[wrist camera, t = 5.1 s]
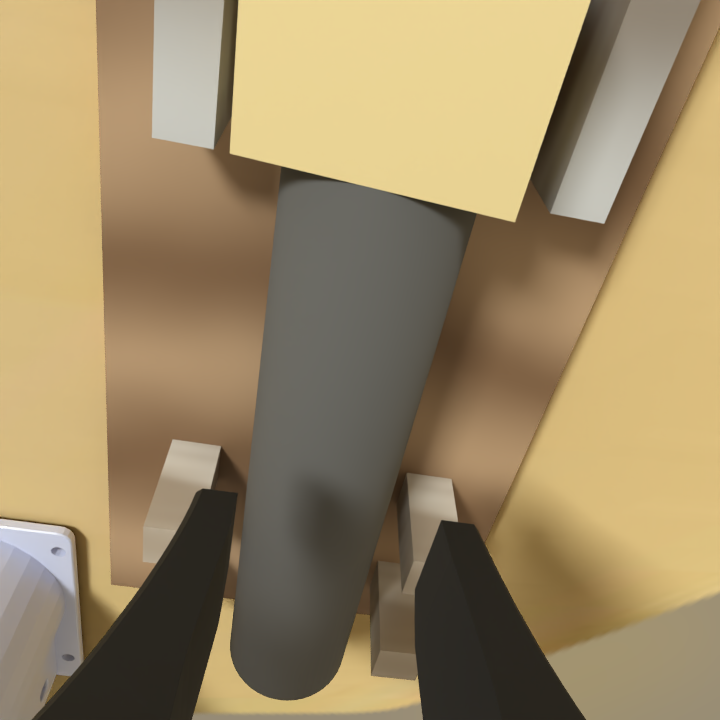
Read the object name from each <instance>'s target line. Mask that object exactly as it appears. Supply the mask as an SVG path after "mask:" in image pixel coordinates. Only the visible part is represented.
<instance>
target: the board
mask: <svg viewBox="0 0 720 720" xmlns="http://www.w3.org/2000/svg"><path fill="white" fill-rule="evenodd" d="M238 1H239V0H96V22H97V60H98V98H99V137H100V175H101V213H102V251H103V290H104V328H105V366H106V404H107V443H108V481H109V519H110V557H111V585H120V586H128V587H137V588H140V587H141V586H142V584H143V583H144V581H145V580H146V578H147V577H148V575H149V574H150V572H151V571H152V569H153V568H154V566H155V565H156V563H157V562H158V560H159V559H160V557H161V556H162V554H163V553H164V551H165V550H166V548H167V546H168V545H169V543H170V541H171V540H172V538H173V536H174V535H175V533H176V531H177V529H178V528H179V526H180V524H181V522H182V520H183V519H184V517H185V515H186V513H187V511H188V509H189V507H190V505H191V503H192V500H193V498H194V495H195V493H196V492H197V491H199V490H201V489H203V488H204V489H212V490H219V491H227V492H234V493H238V496H237V504H236V512H235V520H234V528H233V536H232V544H231V552H230V560H229V568H228V574H227V579H226V585H225V590H224V596H223V598H230V599H235V594H236V584H237V575H238V566H239V556H240V547H241V538H242V528H243V519H244V510H245V500H246V491H247V482H248V472H249V463H250V454H251V444H252V435H253V426H254V416H255V407H256V398H257V388H258V379H259V370H260V360H261V351H262V342H263V332H264V323H265V314H266V304H267V295H268V286H269V276H270V267H271V258H272V248H273V239H274V230H275V220H276V211H277V202H278V192H279V183H280V174H281V166H279V165H275V164H271V163H267V162H262V161H258V160H254V159H250V158H246V157H242V156H238V155H233V154H230V138H231V121H232V104H233V86H234V69H235V52H236V35H237V18H238ZM719 27H720V0H591V1H590V4H589V7H588V10H587V13H586V16H585V19H584V22H583V25H582V28H581V31H580V34H579V36H578V39H577V42H576V45H575V48H574V51H573V54H572V57H571V60H570V63H569V66H568V69H567V72H566V74H565V77H564V80H563V83H562V86H561V89H560V92H559V95H558V98H557V101H556V104H555V107H554V110H553V112H552V115H551V118H550V121H549V124H548V127H547V130H546V133H545V136H544V139H543V142H542V145H541V147H540V150H539V153H538V156H537V159H536V162H535V165H534V168H533V171H532V174H531V177H530V180H529V183H528V185H527V188H526V191H525V194H524V197H523V200H522V203H521V206H520V209H519V212H518V215H517V218H516V221H515V222H511V221H507V220H503V219H499V218H495V217H491V216H486V215H482V214H478V213H477V215H476V218H475V222H474V225H473V228H472V232H471V235H470V238H469V242H468V245H467V248H466V251H465V255H464V258H463V261H462V265H461V268H460V271H459V275H458V278H457V281H456V285H455V288H454V291H453V294H452V298H451V301H450V304H449V308H448V311H447V314H446V318H445V321H444V324H443V328H442V331H441V334H440V337H439V341H438V344H437V347H436V351H435V354H434V357H433V361H432V364H431V367H430V371H429V374H428V377H427V380H426V384H425V387H424V390H423V394H422V397H421V400H420V404H419V407H418V410H417V414H416V417H415V420H414V423H413V427H412V430H411V433H410V437H409V440H408V443H407V447H406V450H405V453H404V457H403V460H402V463H401V466H400V470H399V473H398V476H397V480H396V483H395V486H394V490H393V493H392V496H391V500H390V503H389V506H388V509H387V513H386V516H385V519H384V523H383V526H382V529H381V533H380V536H379V539H378V542H377V546H376V549H375V552H374V556H373V559H372V562H371V566H370V569H369V572H368V576H367V579H366V582H365V585H364V589H363V592H362V595H361V599H360V602H359V605H358V609H357V612H356V613H358V614H367V615H370V638H371V676H378V677H388V678H397V679H406V680H415V679H416V677H417V675H418V671H417V662H416V652H415V623H414V615H415V587H416V585H417V582H418V580H419V577H420V574H421V572H422V569H423V566H424V564H425V561H426V559H427V556H428V553H429V551H430V548H431V546H432V543H433V540H434V538H435V535H436V532H437V530H438V527H439V525H440V522H441V520H446V521H453V522H461V523H468V524H474V525H475V526H476V528H477V529H478V531H479V533H480V535H481V537H482V539H483V541H484V543H485V541H486V539H487V537H488V535H489V532H490V530H491V528H492V526H493V524H494V521H495V519H496V517H497V515H498V513H499V510H500V508H501V506H502V504H503V502H504V499H505V497H506V495H507V493H508V491H509V488H510V486H511V484H512V482H513V480H514V477H515V475H516V473H517V471H518V469H519V466H520V464H521V462H522V460H523V458H524V456H525V453H526V451H527V449H528V447H529V445H530V442H531V440H532V438H533V436H534V434H535V431H536V429H537V427H538V425H539V423H540V420H541V418H542V416H543V414H544V412H545V409H546V407H547V405H548V403H549V401H550V398H551V396H552V394H553V392H554V390H555V387H556V385H557V383H558V381H559V379H560V376H561V374H562V372H563V370H564V368H565V366H566V363H567V361H568V359H569V357H570V355H571V352H572V350H573V348H574V346H575V344H576V341H577V339H578V337H579V335H580V333H581V330H582V328H583V326H584V324H585V322H586V319H587V317H588V315H589V313H590V311H591V308H592V306H593V304H594V302H595V300H596V297H597V295H598V293H599V291H600V289H601V286H602V284H603V282H604V280H605V278H606V275H607V273H608V271H609V269H610V267H611V265H612V262H613V260H614V258H615V256H616V254H617V251H618V249H619V247H620V245H621V243H622V240H623V238H624V236H625V234H626V232H627V229H628V227H629V225H630V223H631V221H632V218H633V216H634V214H635V212H636V210H637V207H638V205H639V203H640V201H641V199H642V196H643V194H644V192H645V190H646V188H647V185H648V183H649V181H650V179H651V177H652V175H653V172H654V170H655V168H656V166H657V164H658V161H659V159H660V157H661V155H662V153H663V150H664V148H665V146H666V144H667V142H668V139H669V137H670V135H671V133H672V131H673V128H674V126H675V124H676V122H677V120H678V117H679V115H680V113H681V111H682V109H683V106H684V104H685V102H686V100H687V98H688V95H689V93H690V91H691V89H692V87H693V84H694V82H695V80H696V78H697V76H698V74H699V71H700V69H701V67H702V65H703V63H704V60H705V58H706V56H707V54H708V52H709V49H710V47H711V45H712V43H713V41H714V38H715V36H716V34H717V32H718V30H719Z"/></svg>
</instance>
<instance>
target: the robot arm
mask: <svg viewBox="0 0 720 720" xmlns="http://www.w3.org/2000/svg"><path fill="white" fill-rule="evenodd" d="M237 496H238V493H234V492H227V491H219V490H212V489H204V488H203V489H201V490H199V491H197V492H196V493H195V495H194V498H193V500H192V503H191V505H190V507H189V509H188V511H187V513H186V515H185V517H184V519H183V520H182V522H181V524H180V526H179V528H178V529H177V531H176V533H175V535H174V536H173V538H172V540H171V541H170V543H169V545H168V546H167V548H166V550H165V551H164V553H163V554H162V556H161V557H160V559H159V560H158V562H157V563H156V565H155V566H154V568H153V569H152V571H151V572H150V574H149V575H148V577H147V578H146V580H145V581H144V583H143V584H142V586H141V587H140V589H139V590H138V592H137V593H136V594H135V596H134V597H133V599H132V600H131V601H130V602H129V604H128V605H127V606H126V608H125V609H124V610H123V612H122V613H121V614H120V616H119V617H118V618H117V620H116V621H115V622H114V624H113V625H112V626H111V628H110V629H109V630H108V632H107V633H106V634H105V636H104V637H103V638H102V639H101V641H100V642H99V643H98V644H97V646H96V647H95V648H94V649H93V650H92V652H91V653H90V654H89V655H88V657H87V658H86V659H85V660H84V657H83V643H82V629H81V615H80V601H79V587H78V573H77V558H76V544H75V536H74V533H73V532H72V531H71V530H69V529H68V528H66V527H62V526H55V525H47V524H39V523H31V522H23V521H15V520H7V519H0V720H192V717H193V713H194V709H195V706H196V702H197V699H198V695H199V692H200V688H201V684H202V681H203V677H204V674H205V670H206V667H207V663H208V659H209V656H210V652H211V649H212V645H213V641H214V638H215V634H216V631H217V627H218V623H219V618H220V612H221V607H222V601H223V596H224V590H225V585H226V579H227V574H228V568H229V560H230V552H231V544H232V536H233V528H234V520H235V512H236V504H237ZM414 623H415V652H416V662H417V671H418V680H419V689H420V697H421V706H422V714H423V720H586V719H585V718H584V716H583V715H582V713H581V712H580V710H579V709H578V707H577V706H576V705H575V703H574V701H573V700H572V698H571V697H570V695H569V694H568V692H567V691H566V689H565V688H564V686H563V685H562V683H561V681H560V680H559V678H558V676H557V675H556V673H555V672H554V670H553V668H552V667H551V665H550V664H549V662H548V660H547V659H546V657H545V655H544V654H543V652H542V650H541V649H540V647H539V645H538V644H537V642H536V640H535V638H534V637H533V635H532V633H531V631H530V630H529V628H528V626H527V624H526V622H525V621H524V619H523V617H522V615H521V614H520V612H519V610H518V608H517V606H516V605H515V603H514V601H513V599H512V597H511V595H510V593H509V591H508V589H507V588H506V586H505V584H504V582H503V580H502V578H501V576H500V574H499V572H498V570H497V568H496V566H495V564H494V562H493V560H492V558H491V556H490V554H489V552H488V550H487V548H486V546H485V544H484V541H483V539H482V537H481V535H480V533H479V531H478V529H477V528H476V526H475V525H474V524H468V523H461V522H453V521H446V520H441V522H440V525H439V527H438V530H437V532H436V535H435V538H434V540H433V543H432V546H431V548H430V551H429V553H428V556H427V559H426V561H425V564H424V566H423V569H422V572H421V574H420V577H419V580H418V582H417V585H416V587H415V615H414ZM56 675H64V676H71V677H70V678H69V679H68V680H67V681H66V682H65V683H64V685H63V686H62V687H61V688H60V689H59V690H58V691H57V693H56V694H55V695H54V696H53V697H52V698H51V699H50V700H49V701H48V702H47V703H46V700H47V698H48V695H49V693H50V690H51V687H52V685H53V682H54V680H55V677H56ZM45 703H46V704H45Z"/></svg>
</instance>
